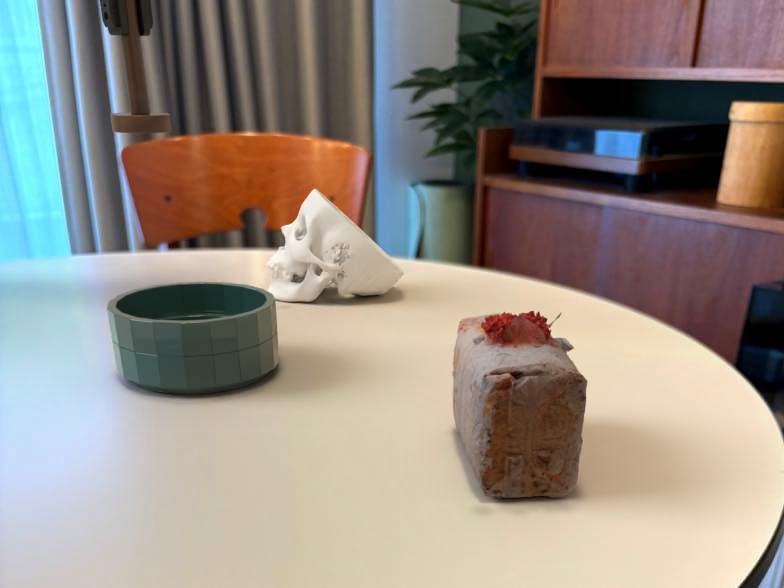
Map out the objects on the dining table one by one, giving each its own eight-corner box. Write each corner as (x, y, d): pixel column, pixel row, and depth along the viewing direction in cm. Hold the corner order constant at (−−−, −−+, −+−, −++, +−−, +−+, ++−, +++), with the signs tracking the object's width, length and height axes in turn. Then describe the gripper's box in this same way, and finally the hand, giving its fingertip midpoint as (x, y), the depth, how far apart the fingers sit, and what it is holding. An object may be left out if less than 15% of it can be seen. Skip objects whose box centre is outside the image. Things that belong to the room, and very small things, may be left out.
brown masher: (135, 134, 77) (112, -35, 71) (101, 130, 80) (75, -32, 74) (184, 131, 81) (166, -29, 74) (149, 128, 84) (129, -27, 78)
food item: (440, 420, 62) (446, 286, 57) (545, 417, 63) (558, 285, 58) (469, 503, 50) (478, 344, 45) (597, 500, 51) (620, 342, 46)
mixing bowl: (184, 411, 63) (174, 333, 60) (87, 372, 70) (74, 301, 67) (311, 369, 72) (308, 299, 69) (213, 338, 79) (206, 274, 76)
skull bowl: (251, 272, 97) (304, 177, 93) (353, 333, 102) (407, 245, 98) (249, 293, 88) (306, 188, 84) (360, 359, 93) (420, 264, 89)
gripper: (140, -187, 75) (166, 37, 83) (-7, -224, 65) (39, 33, 74) (193, -201, 70) (214, 37, 79) (44, -242, 61) (86, 33, 70)
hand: (129, 34), depth 77 cm, fingers closed on brown masher
